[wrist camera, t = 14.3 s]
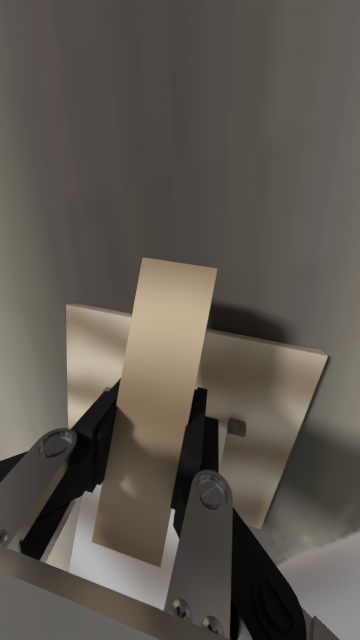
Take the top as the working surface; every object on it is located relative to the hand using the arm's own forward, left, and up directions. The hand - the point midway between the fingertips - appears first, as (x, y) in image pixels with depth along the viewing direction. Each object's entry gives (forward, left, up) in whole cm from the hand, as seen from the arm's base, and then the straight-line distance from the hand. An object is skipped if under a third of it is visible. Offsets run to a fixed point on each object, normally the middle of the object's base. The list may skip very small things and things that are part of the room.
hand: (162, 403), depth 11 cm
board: (+6, 0, -6) cm, 9 cm away
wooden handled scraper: (+3, 0, -1) cm, 3 cm away
